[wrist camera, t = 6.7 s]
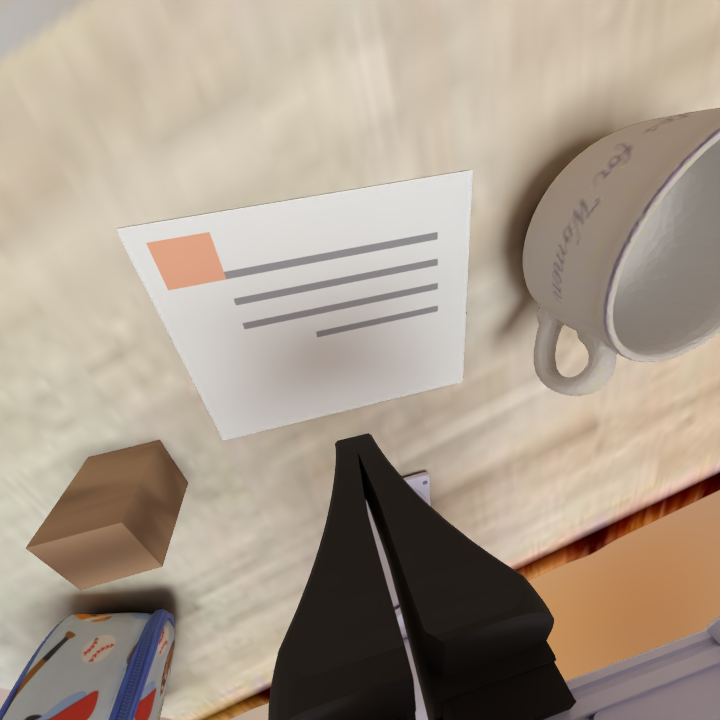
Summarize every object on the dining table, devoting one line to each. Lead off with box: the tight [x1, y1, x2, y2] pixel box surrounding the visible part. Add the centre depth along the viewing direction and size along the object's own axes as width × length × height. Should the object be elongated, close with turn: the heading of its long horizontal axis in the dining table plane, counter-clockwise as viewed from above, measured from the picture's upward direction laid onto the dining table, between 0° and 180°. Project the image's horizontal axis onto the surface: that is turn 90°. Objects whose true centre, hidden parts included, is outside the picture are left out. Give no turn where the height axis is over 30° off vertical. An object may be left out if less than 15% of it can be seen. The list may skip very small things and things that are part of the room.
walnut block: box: [26, 440, 188, 590], centre depth 19 cm, size 4×4×6 cm
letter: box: [116, 170, 473, 441], centre depth 19 cm, size 14×18×1 cm
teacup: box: [523, 108, 720, 396], centre depth 17 cm, size 14×11×8 cm
